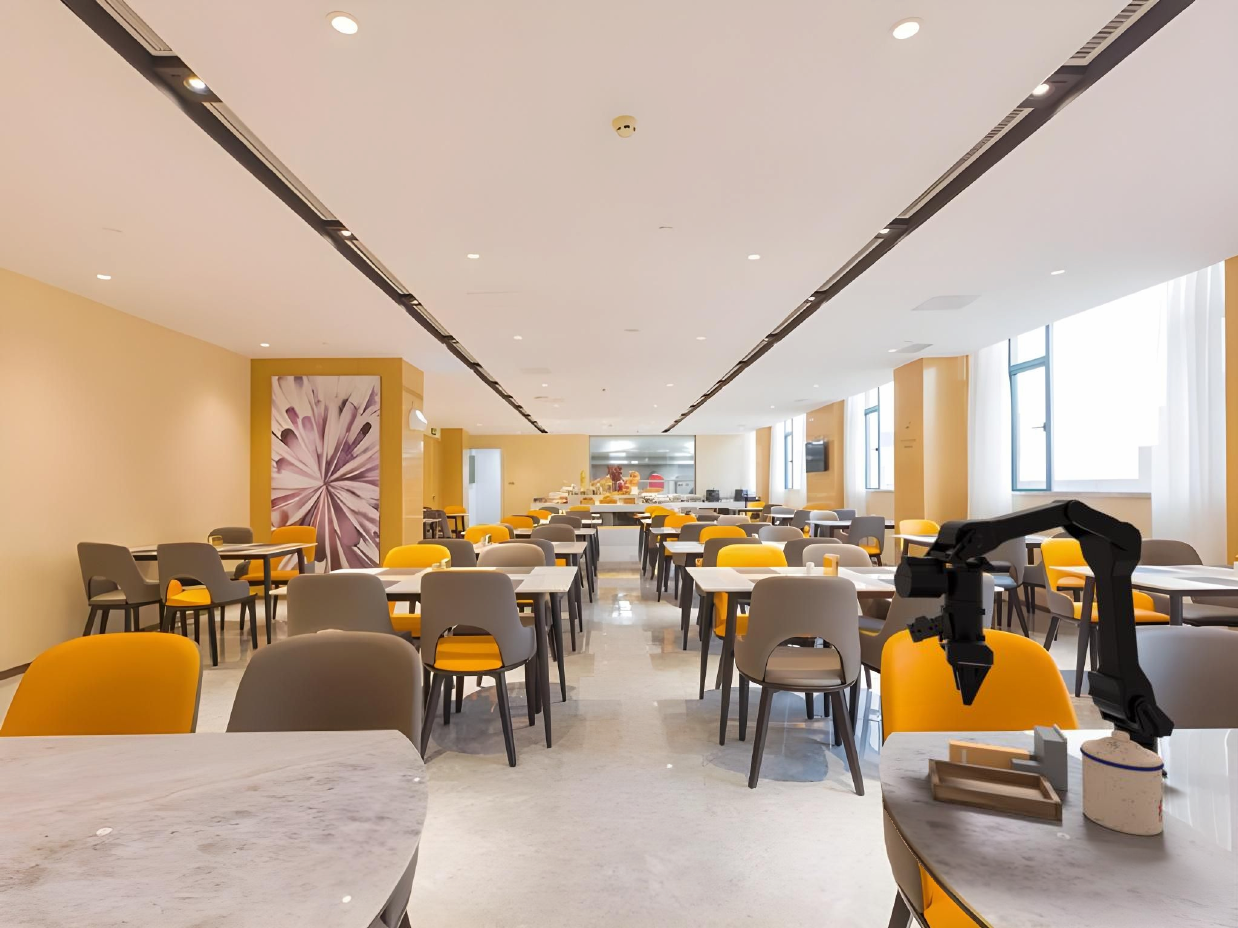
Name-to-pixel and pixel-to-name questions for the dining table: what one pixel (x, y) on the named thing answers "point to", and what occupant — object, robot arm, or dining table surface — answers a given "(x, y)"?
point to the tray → (994, 789)
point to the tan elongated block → (984, 754)
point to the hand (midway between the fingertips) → (963, 697)
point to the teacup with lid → (1122, 785)
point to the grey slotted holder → (1047, 757)
